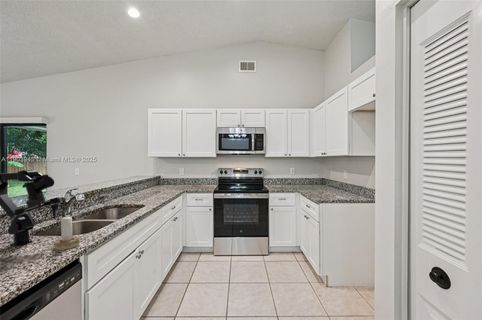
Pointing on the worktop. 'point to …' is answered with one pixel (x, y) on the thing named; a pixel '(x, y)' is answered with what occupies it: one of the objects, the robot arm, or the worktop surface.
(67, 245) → the tan open ring
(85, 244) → the worktop surface
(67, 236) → the dowel
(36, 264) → the worktop surface
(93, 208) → the worktop surface
